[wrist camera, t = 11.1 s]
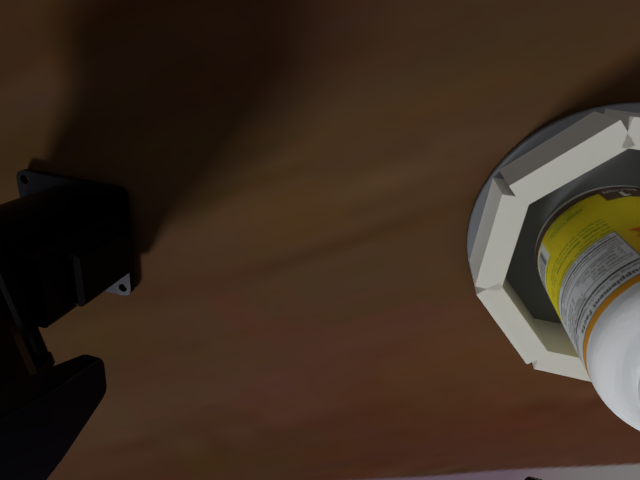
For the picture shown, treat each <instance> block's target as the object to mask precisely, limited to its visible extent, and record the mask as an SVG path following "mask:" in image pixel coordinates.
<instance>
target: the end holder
mask: <svg viewBox="0 0 640 480" xmlns="http://www.w3.org/2000/svg"><path fill="white" fill-rule="evenodd" d="M614 185H627V186H636V187H640V102H629V103H614V104H609V105H603V106H597V107H593V108H589V109H586V110H582V111H579V112H576V113H573V114H570V115H568V116H565V117H563V118H561V119H558V120H556V121H554V122H552V123H550V124H548V125H546V126H545V127H543V128H541V129H539V130H537V131H536V132H534V133H533V134H531V135H530V136H529V137H527V138H526V139H524V140H523V141H522V142H520V143H519V144H518V145H517V146H516V147H514V148H513V149H512V150H511V151H510V152H509V153H508V154H507V155H506V156H505V157H504V158H503V159H502V160H501V161H500V162H499V163H498V165H497V166H496V167H495V168H494V169H493V170H492V172H491V173H490V175H489V176H488V178H487V179H486V181H485V182H484V184H483V185H482V187H481V189H480V191H479V193H478V195H477V197H476V199H475V202H474V205H473V208H472V211H471V214H470V218H469V223H468V228H467V253H468V261H469V266H470V269H471V273H472V277H473V280H474V285H475V290H476V295H477V296H478V297H479V299H480V300H481V301H482V303H483V304H484V306H485V307H486V308H487V310H488V311H489V313H490V314H491V315H492V317H493V318H494V320H495V321H496V322H497V324H498V325H499V326H500V328H501V329H502V331H503V332H504V333H505V335H506V336H507V338H508V339H509V340H510V342H511V343H512V344H513V346H514V347H515V349H516V350H517V351H518V353H519V354H520V356H521V357H522V358H523V360H524V361H525V362H526V364H528V363H531V362H532V364H533V366H534V369H537V370H542V371H546V372H550V373H555V374H559V375H564V376H568V377H573V378H577V379H581V380H586V381H590V382H591V380H590V378H589V376H588V374H587V372H586V370H585V368H584V366H583V364H582V362H581V360H580V358H579V356H578V354H577V352H576V350H575V348H574V346H573V344H572V342H571V340H570V338H569V336H568V334H567V332H566V330H565V328H564V326H563V324H562V322H561V320H560V318H559V316H558V314H557V312H556V310H555V308H554V306H553V304H552V302H551V300H550V298H549V296H548V294H547V292H546V290H545V287H544V285H543V283H542V282H541V279H540V277H539V274H538V272H537V269H536V264H535V245H536V241H537V238H538V235H539V233H540V230H541V228H542V227H543V225H544V223H545V222H546V220H547V219H548V218H549V216H550V215H551V214H552V213H553V212H554V211H555V210H556V209H557V208H559V207H560V206H561V205H562V204H564V203H565V202H566V201H568V200H570V199H571V198H573V197H575V196H577V195H579V194H581V193H583V192H586V191H589V190H592V189H595V188H599V187H605V186H614Z"/></svg>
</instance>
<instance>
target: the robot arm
mask: <svg viewBox="0 0 640 480" xmlns="http://www.w3.org/2000/svg"><path fill="white" fill-rule="evenodd" d="M27 178H28V180H29V181H28V180H27ZM17 183H18V189H19V195H20V198H18V199H15V200H13V201H10V202H7V203H4V204H1V205H0V480H47V478H48V477H49V476H50V474H51V473H52V472H53V471H54V469H55V468H56V467H57V465H58V464H59V463H60V462H61V460H62V459H63V457H64V456H65V454H66V453H67V452H68V450H69V449H70V447H71V446H72V444H73V443H74V441H75V440H76V438H77V437H78V435H79V434H80V432H81V431H82V429H83V427H84V426H85V424H86V423H87V421H88V420H89V418H90V417H91V415H92V414H93V412H94V411H95V409H96V408H97V406H98V405H99V403H100V402H101V400H102V399H103V397H104V395H105V392H106V377H105V368H104V362H103V361H102V359H100V358H97V357H94V356H90V355H81V356H78V357H76V358H73V359H71V360H68V361H66V362H63V363H61V364H58V365H56V366H53V365H54V363H55V361H54V358H53V356H52V354H51V352H48V350H47V348H46V345H45V343H44V340H43V338H42V336H41V333H40V331H39V328H38V326H39V327H43V328H47V327H48V326H50V325H51V324H52V323H54V322H55V321H57V320H58V319H60V318H61V317H62V316H64V315H65V314H67V313H68V312H69V311H71V310H72V309H74V308H75V307H76V306H80V307H82V306H84V305H86V304H87V303H88V302H90V301H91V300H93V299H94V298H95V297H97V296H98V295H99V294H101V293H102V292H104V291H107V292H111V293H115V294H120V295H129V294H130V293H131V292H132V291H133V290H134V288H135V283H134V260H133V246H132V232H131V227H130V213H129V199H128V193H127V192H126V190H125V189H124V188H123V187H120V186H116V185H110V184H105V183H100V182H95V181H89V180H84V179H79V178H74V177H68V176H63V175H58V174H53V173H47V172H42V171H37V170H32V169H25V170H21V171H19V172H18V173H17ZM116 193H117V194H118V196H119V199H118V198H117V197H116ZM124 285H125V286H126V288H125V287H124ZM52 366H53V367H52ZM525 480H541V479H538V478H534V477H527V478H526V479H525Z"/></svg>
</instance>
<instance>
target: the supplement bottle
mask: <svg viewBox="0 0 640 480" xmlns="http://www.w3.org/2000/svg"><path fill="white" fill-rule="evenodd" d="M535 264H536V269H537V272H538V274H539V277H540V279H541V282H542V283H543V285H544V287H545V290H546V292H547V294H548V296H549V298H550V300H551V302H552V304H553V306H554V308H555V310H556V312H557V314H558V316H559V318H560V320H561V322H562V324H563V326H564V328H565V330H566V332H567V334H568V336H569V338H570V340H571V342H572V344H573V346H574V348H575V350H576V352H577V354H578V356H579V358H580V360H581V362H582V364H583V366H584V368H585V370H586V372H587V374H588V376H589V378H590V380H591V382H592V384H593V385H594V387H595V389H596V391H597V392H598V394H599V395H600V397H601V399H602V400H603V401H604V403H605V404H606V405H607V406H608V407H609V408H610V409H611V410H612V411H613V412H614V413H615V414H616V415H617V416H618V417H619V418H621V419H622V420H623V421H625V422H626V423H628V424H629V425H630V426H632V427H634V428H635V429H637V430H639V431H640V187H636V186H627V185H614V186H605V187H599V188H595V189H592V190H589V191H586V192H583V193H581V194H579V195H577V196H575V197H573V198H571V199H570V200H568V201H566V202H565V203H564V204H562V205H561V206H560V207H559V208H557V209H556V210H555V211H554V212H553V213H552V214H551V215H550V216H549V218H548V219H547V220H546V222H545V223H544V225H543V227H542V228H541V230H540V233H539V235H538V238H537V241H536V245H535Z"/></svg>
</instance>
